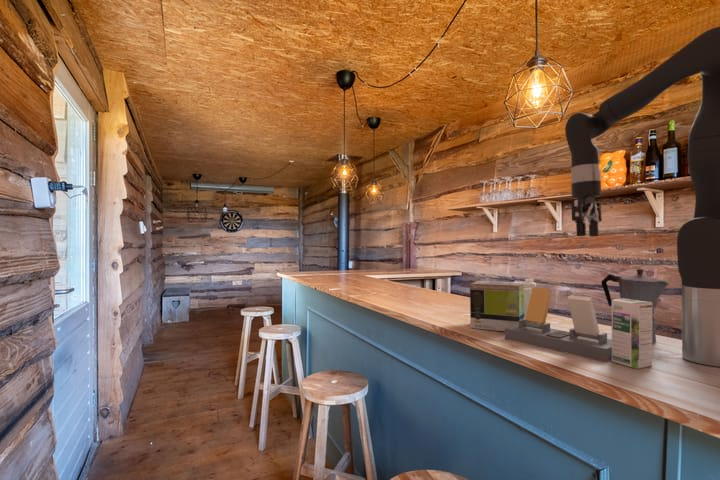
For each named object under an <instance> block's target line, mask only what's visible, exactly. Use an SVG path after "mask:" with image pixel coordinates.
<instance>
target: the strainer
mask: <svg viewBox="0 0 720 480" xmlns="http://www.w3.org/2000/svg"><path fill="white" fill-rule="evenodd" d="M519 282H520V283H523V285H524V319H525V318H526V314H527V309H528V305H529V301H530V296H531V292H532V288H533V287H535V288H537V282H534V278H525V279H524V281H519ZM527 322H528V321H527Z"/></svg>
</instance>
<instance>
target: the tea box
mask: <svg viewBox="0 0 720 480" xmlns="http://www.w3.org/2000/svg"><path fill="white" fill-rule="evenodd" d="M520 282H521V281H485V280H476V281H474V282H471V283H469V306H470V307H469V308H470V309H469V310H470V311H469V312H470V315H469V316H470V317H469V318H470V328H471V329H477V330H487V331H497V332H505V328H508V327H512V326H516V325H519V320H522V319H524V288H525V287H524V285H523V283H520Z"/></svg>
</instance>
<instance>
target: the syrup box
mask: <svg viewBox="0 0 720 480" xmlns="http://www.w3.org/2000/svg"><path fill="white" fill-rule="evenodd" d="M611 300H612V306H611V340H612V360H611V362H612V363H616V364H620V365H623V366H625V367H628V368H632V369H635V370H639V369H643V368H647V367H653V344H652V302H645V301H638V300H631V299H620V298H615V299H611Z"/></svg>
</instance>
